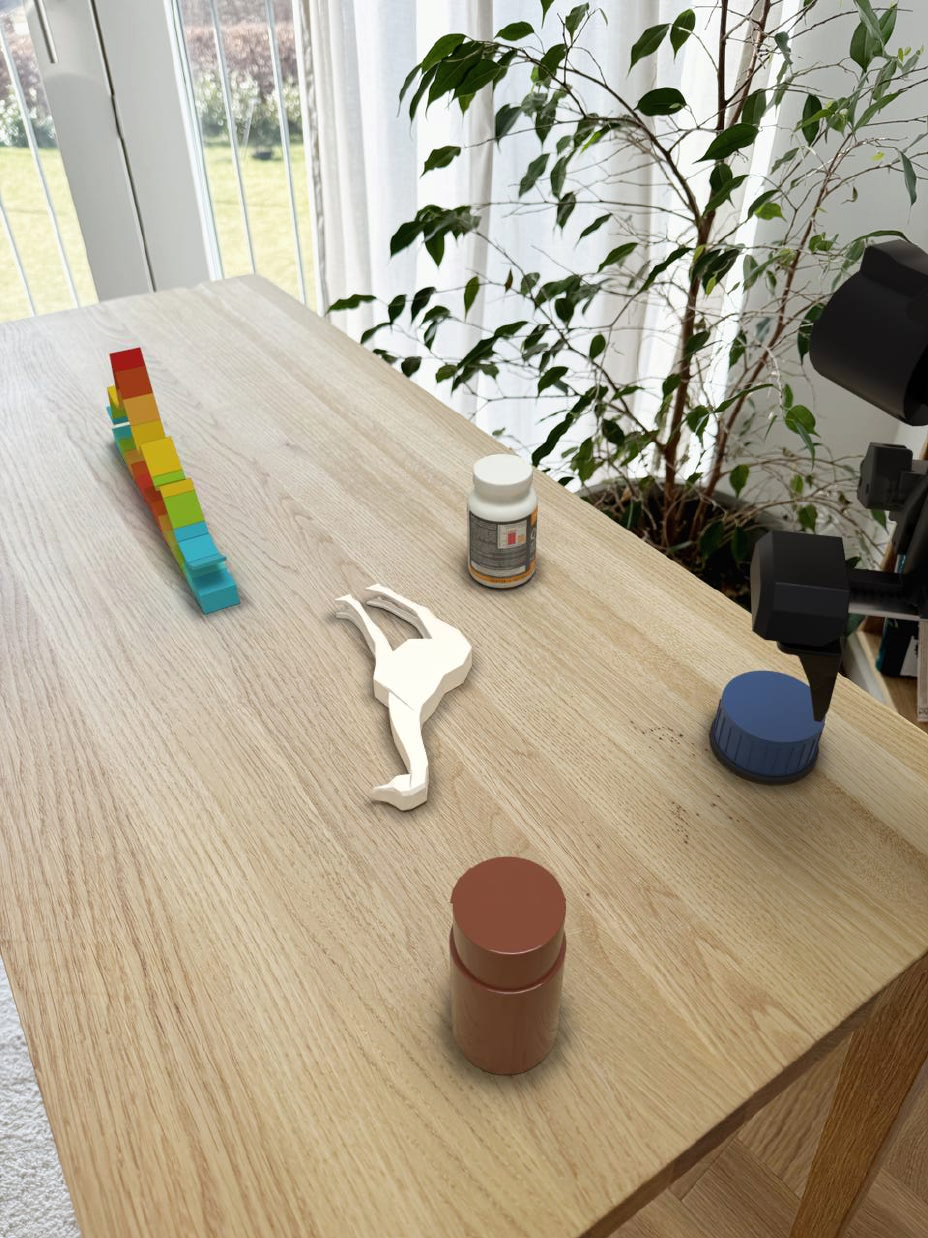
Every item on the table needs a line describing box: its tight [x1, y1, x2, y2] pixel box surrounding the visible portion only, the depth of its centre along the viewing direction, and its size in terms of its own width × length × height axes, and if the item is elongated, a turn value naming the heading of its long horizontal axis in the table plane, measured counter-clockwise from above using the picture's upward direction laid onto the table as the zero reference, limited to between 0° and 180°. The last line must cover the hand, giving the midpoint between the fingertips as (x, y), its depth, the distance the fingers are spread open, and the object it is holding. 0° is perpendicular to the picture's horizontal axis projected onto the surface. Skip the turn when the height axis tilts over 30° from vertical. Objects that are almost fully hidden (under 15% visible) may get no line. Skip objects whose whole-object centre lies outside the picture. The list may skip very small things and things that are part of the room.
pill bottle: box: [466, 453, 539, 589], centre depth 79 cm, size 6×6×10 cm
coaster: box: [708, 716, 820, 786], centre depth 66 cm, size 7×7×1 cm
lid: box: [714, 670, 827, 776], centre depth 65 cm, size 7×7×3 cm
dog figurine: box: [334, 582, 473, 811], centre depth 70 cm, size 2×13×20 cm
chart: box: [105, 347, 241, 615], centre depth 84 cm, size 30×3×15 cm, turn 28°
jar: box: [448, 855, 567, 1076], centre depth 48 cm, size 6×6×11 cm
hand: (907, 728), depth 51 cm, fingers open, 9 cm apart
